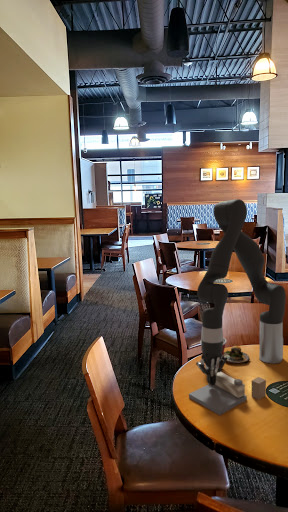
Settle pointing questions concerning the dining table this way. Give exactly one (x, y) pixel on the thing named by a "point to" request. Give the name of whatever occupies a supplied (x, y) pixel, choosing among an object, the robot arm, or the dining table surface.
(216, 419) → the dining table surface
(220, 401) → the grey slab beige block
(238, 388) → the folding leg
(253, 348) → the dining table surface
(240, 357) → the burger
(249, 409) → the dining table surface
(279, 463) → the dining table surface
